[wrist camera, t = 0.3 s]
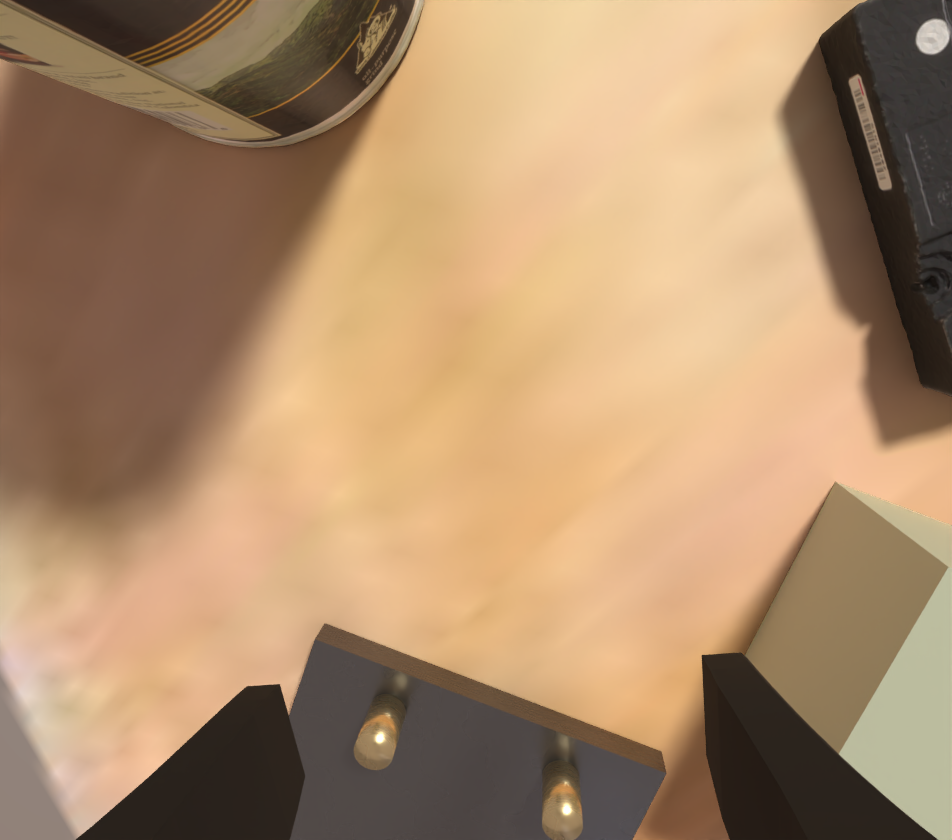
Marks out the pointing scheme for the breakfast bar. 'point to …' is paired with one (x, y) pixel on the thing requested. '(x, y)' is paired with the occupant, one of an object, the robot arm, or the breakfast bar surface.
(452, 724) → the plate
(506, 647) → the breakfast bar surface
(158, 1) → the coffee can
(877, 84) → the disk drive
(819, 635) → the block
